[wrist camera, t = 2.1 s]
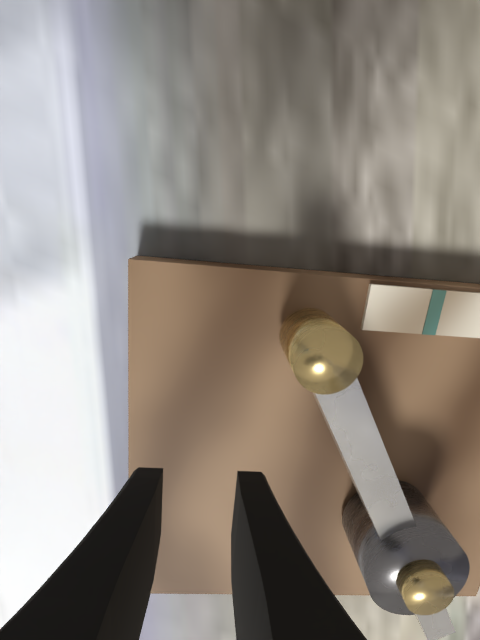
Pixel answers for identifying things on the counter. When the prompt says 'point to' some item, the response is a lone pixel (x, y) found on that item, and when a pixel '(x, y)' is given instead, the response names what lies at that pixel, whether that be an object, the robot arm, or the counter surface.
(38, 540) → the counter surface
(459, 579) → the crank handle
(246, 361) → the level stand
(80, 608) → the robot arm
